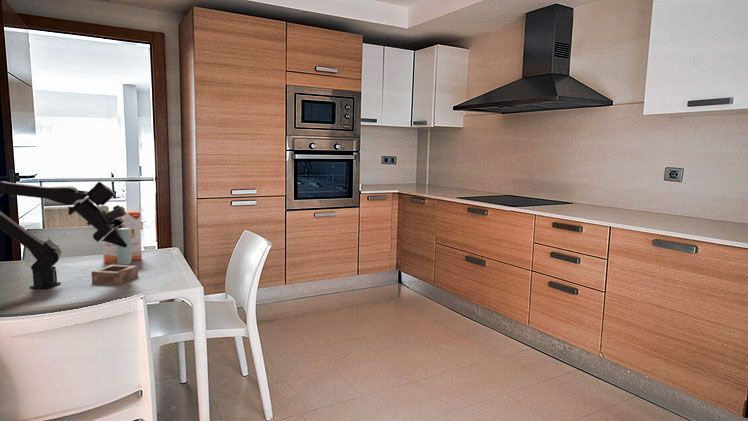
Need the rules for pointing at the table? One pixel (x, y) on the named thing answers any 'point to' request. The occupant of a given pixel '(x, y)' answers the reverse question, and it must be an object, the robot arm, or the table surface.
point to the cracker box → (133, 223)
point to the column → (124, 252)
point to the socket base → (114, 274)
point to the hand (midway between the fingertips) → (128, 245)
